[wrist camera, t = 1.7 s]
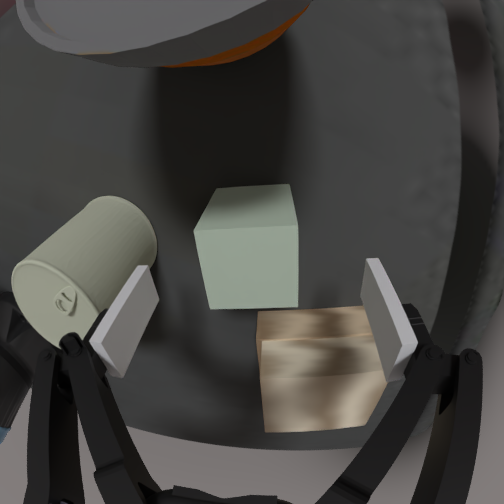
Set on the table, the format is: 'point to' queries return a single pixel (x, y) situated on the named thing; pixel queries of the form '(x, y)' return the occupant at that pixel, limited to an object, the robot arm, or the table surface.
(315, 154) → the table surface
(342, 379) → the tower top
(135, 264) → the can
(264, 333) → the block
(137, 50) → the reusable coffee cup
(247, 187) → the green block
